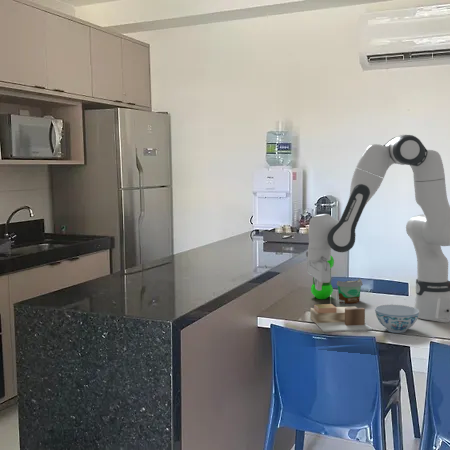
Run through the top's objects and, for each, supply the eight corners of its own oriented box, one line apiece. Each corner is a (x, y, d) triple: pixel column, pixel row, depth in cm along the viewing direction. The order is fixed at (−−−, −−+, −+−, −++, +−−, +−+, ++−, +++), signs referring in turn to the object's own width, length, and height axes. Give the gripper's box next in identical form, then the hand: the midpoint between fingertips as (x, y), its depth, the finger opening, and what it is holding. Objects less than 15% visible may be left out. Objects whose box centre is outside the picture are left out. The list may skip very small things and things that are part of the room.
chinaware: (414, 339, 185) (414, 317, 184) (370, 333, 192) (370, 311, 192) (421, 328, 198) (422, 307, 197) (380, 323, 205) (380, 302, 205)
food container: (344, 306, 231) (345, 283, 230) (336, 303, 237) (336, 280, 236) (368, 303, 236) (368, 280, 235) (359, 300, 242) (359, 278, 241)
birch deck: (355, 316, 215) (355, 306, 215) (363, 322, 206) (363, 312, 206) (310, 318, 213) (310, 308, 213) (316, 324, 205) (316, 313, 204)
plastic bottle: (328, 294, 254) (329, 241, 251) (336, 300, 243) (336, 244, 241) (307, 295, 252) (307, 242, 250) (314, 300, 242) (314, 245, 240)
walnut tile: (363, 307, 202) (364, 308, 201) (363, 323, 203) (364, 324, 201) (344, 308, 202) (346, 309, 200) (344, 324, 202) (346, 325, 201)
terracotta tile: (331, 308, 212) (331, 303, 212) (336, 312, 206) (336, 307, 206) (314, 309, 211) (314, 304, 211) (318, 313, 205) (318, 308, 205)
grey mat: (363, 322, 206) (363, 321, 206) (372, 329, 196) (372, 328, 196) (316, 324, 205) (316, 322, 205) (323, 331, 195) (323, 330, 195)
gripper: (335, 259, 205) (334, 295, 206) (319, 251, 225) (319, 284, 226) (318, 259, 204) (317, 295, 205) (304, 251, 224) (304, 284, 225)
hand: (318, 289), depth 216 cm, fingers closed
